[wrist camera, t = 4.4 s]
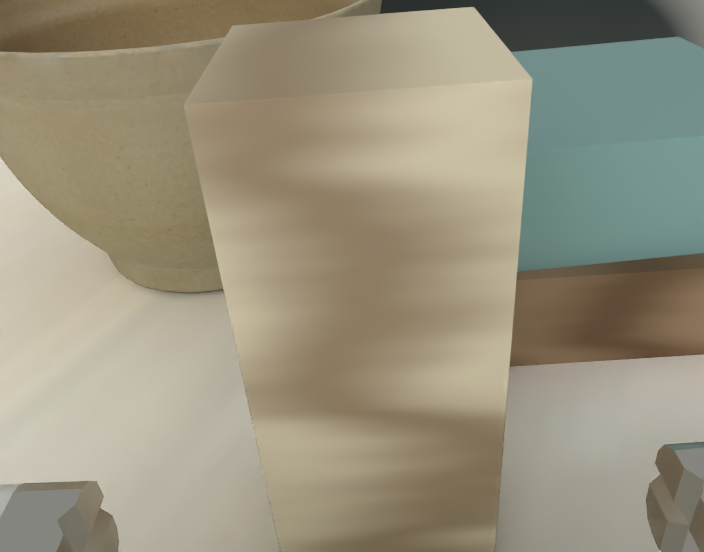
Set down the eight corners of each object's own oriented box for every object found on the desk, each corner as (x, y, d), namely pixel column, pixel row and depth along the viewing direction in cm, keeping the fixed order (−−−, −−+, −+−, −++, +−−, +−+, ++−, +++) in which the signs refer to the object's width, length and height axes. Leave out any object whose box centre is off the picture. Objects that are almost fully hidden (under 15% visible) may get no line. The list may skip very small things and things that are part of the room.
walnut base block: (659, 209, 31) (676, 129, 29) (792, 360, 22) (831, 259, 20) (428, 225, 32) (428, 146, 29) (464, 380, 22) (468, 283, 20)
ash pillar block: (461, 422, 20) (474, 6, 13) (492, 573, 16) (532, 78, 9) (299, 431, 20) (232, 25, 14) (287, 584, 16) (183, 105, 9)
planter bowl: (-6, 387, 23) (-160, 76, 17) (71, 192, 36) (0, -19, 30) (436, 310, 25) (436, 7, 19) (355, 152, 38) (339, -54, 32)
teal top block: (660, 129, 29) (678, 36, 27) (809, 242, 21) (853, 120, 19) (437, 151, 29) (437, 59, 27) (496, 274, 20) (504, 154, 18)
